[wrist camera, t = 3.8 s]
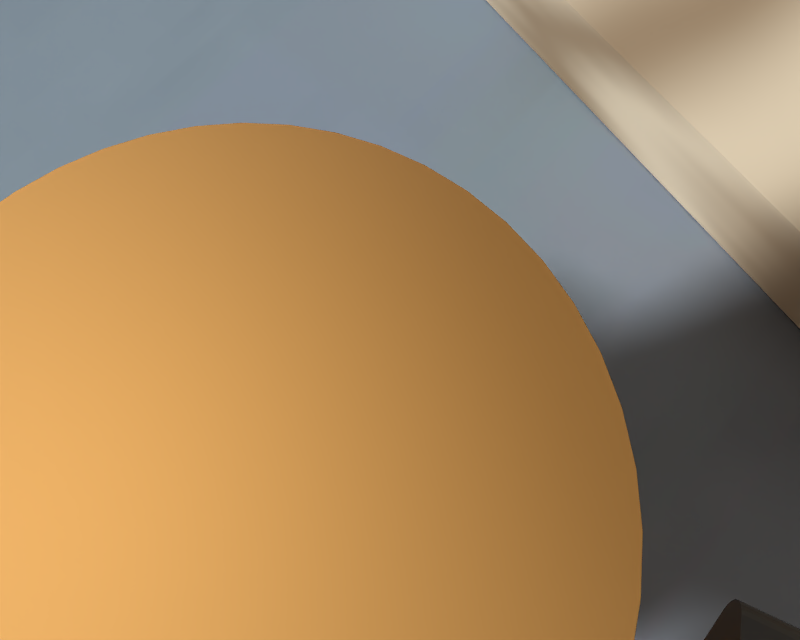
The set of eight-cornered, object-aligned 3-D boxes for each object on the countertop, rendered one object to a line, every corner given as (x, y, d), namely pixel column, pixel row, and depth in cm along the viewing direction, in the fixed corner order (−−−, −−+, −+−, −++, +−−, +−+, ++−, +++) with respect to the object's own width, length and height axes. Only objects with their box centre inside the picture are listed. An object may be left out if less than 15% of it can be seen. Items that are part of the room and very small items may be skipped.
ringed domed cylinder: (229, 528, 15) (-339, 396, 5) (442, 382, 16) (328, -18, 5) (368, 780, 13) (-70, 1399, 3) (604, 607, 14) (897, 652, 4)
